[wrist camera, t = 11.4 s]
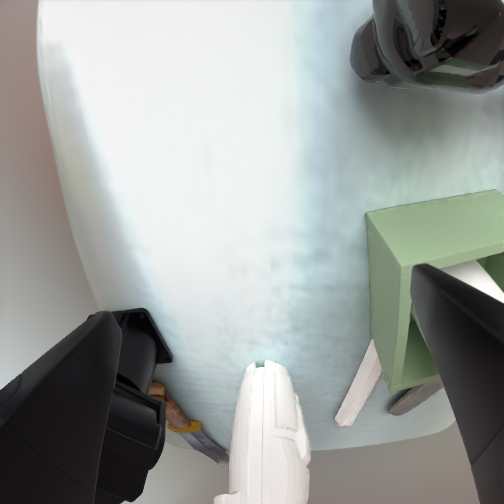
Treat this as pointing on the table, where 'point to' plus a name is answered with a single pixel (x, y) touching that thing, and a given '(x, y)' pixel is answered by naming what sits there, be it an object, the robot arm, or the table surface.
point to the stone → (415, 397)
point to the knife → (187, 426)
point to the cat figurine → (432, 45)
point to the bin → (434, 253)
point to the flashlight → (268, 441)
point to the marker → (360, 387)
